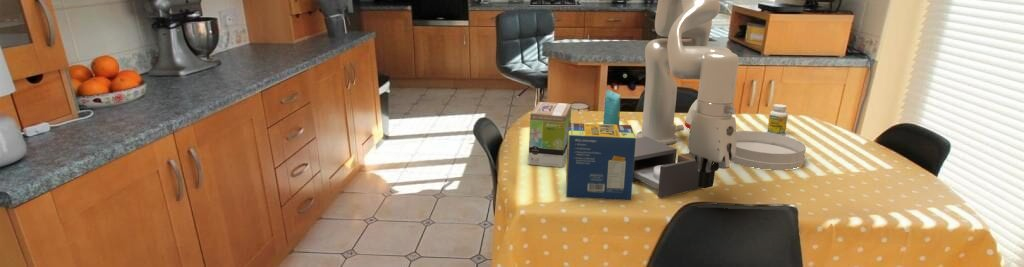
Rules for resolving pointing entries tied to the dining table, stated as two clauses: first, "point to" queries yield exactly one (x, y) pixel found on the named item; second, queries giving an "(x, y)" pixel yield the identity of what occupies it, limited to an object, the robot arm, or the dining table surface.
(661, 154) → the housing
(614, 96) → the tube
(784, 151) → the dish
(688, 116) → the hen dome cover
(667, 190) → the drawer
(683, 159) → the walnut block
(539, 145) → the tea box
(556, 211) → the dining table surface
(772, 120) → the supplement bottle
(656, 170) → the disc
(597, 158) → the protein box
